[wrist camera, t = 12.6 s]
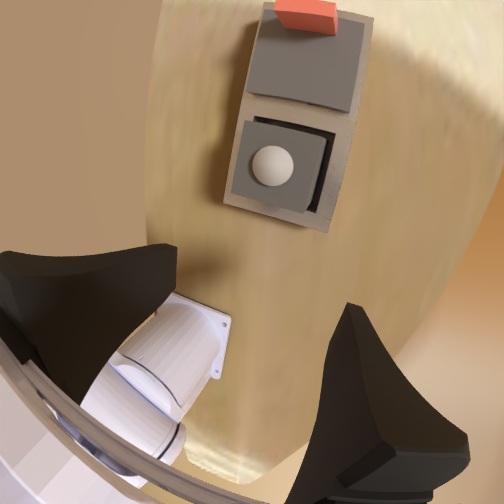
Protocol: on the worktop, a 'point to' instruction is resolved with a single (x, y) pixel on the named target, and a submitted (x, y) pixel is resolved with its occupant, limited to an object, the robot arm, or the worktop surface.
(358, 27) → the shutter
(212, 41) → the worktop surface
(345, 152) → the socket
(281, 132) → the grey block
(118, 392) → the robot arm
